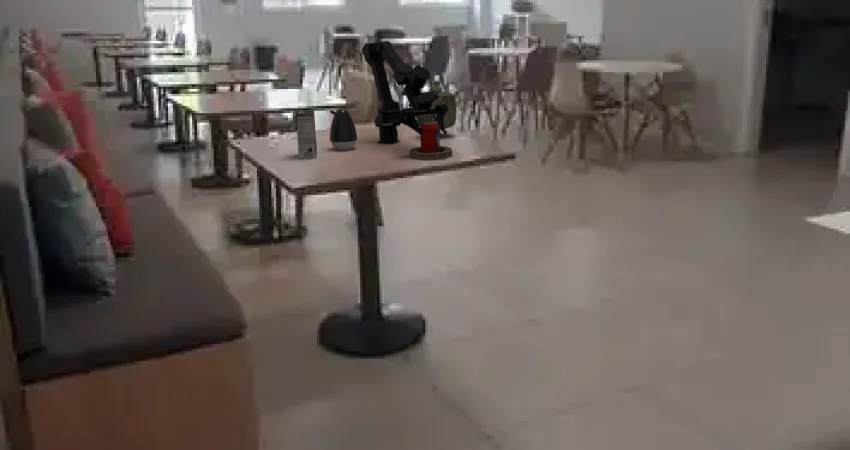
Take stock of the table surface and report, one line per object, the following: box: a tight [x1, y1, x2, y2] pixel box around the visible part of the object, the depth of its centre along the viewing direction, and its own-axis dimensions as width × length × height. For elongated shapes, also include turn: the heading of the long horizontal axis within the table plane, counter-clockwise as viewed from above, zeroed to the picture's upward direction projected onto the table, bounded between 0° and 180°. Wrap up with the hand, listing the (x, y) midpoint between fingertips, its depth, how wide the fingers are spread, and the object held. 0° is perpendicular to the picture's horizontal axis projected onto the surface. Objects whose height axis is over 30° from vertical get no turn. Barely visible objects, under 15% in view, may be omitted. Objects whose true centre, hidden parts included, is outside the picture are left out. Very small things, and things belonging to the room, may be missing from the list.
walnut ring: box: [409, 145, 453, 161], centre depth 293 cm, size 15×15×2 cm
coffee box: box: [295, 109, 318, 160], centre depth 296 cm, size 9×6×16 cm
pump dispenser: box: [329, 108, 358, 151], centre depth 307 cm, size 10×10×15 cm
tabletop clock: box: [416, 72, 457, 138], centre depth 323 cm, size 14×9×25 cm, turn 121°
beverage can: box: [419, 121, 441, 153], centre depth 292 cm, size 7×7×12 cm
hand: (432, 132), depth 290 cm, fingers open, 9 cm apart
